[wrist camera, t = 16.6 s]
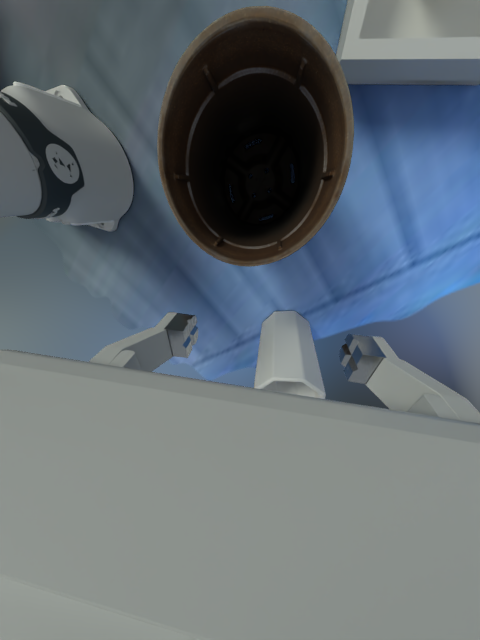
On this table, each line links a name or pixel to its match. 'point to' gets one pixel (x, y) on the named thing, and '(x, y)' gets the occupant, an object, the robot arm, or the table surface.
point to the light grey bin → (411, 42)
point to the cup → (288, 357)
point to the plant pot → (255, 135)
